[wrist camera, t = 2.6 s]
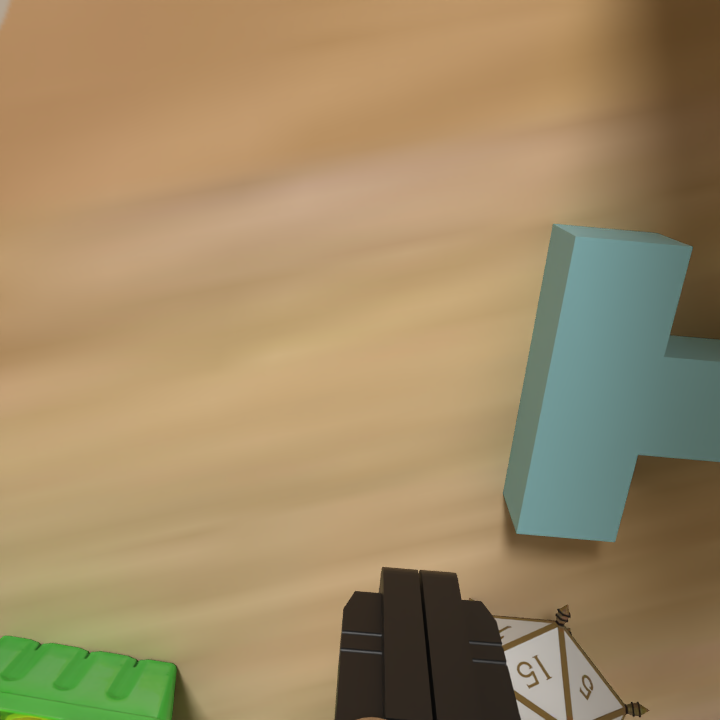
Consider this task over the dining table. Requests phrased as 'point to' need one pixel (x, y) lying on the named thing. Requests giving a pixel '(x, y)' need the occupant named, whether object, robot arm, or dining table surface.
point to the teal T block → (607, 382)
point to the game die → (556, 673)
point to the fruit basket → (81, 684)
